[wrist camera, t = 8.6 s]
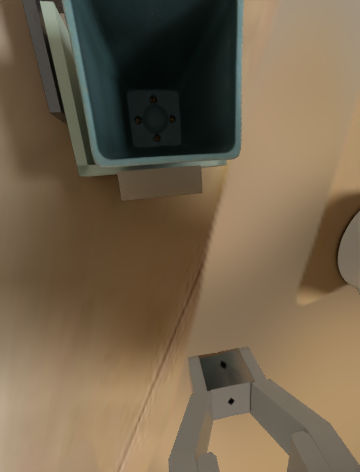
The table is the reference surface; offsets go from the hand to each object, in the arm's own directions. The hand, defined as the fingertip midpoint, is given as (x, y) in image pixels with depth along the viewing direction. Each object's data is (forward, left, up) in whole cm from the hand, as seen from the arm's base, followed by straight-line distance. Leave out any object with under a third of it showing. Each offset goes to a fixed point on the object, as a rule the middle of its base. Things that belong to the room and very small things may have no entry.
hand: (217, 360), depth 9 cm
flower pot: (+1, -14, -14) cm, 20 cm away
